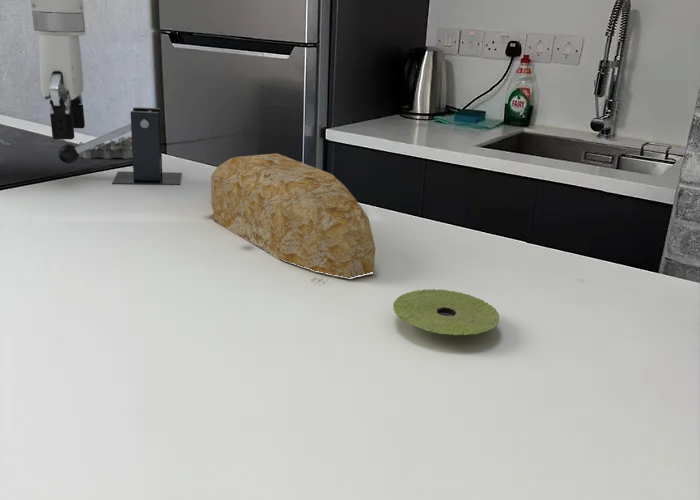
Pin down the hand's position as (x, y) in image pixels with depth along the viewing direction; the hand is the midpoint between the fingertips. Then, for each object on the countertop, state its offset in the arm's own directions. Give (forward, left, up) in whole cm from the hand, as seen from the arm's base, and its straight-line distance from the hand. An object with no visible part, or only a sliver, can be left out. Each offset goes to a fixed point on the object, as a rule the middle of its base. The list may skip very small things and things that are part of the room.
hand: (69, 133), depth 113 cm
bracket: (+12, 0, -9) cm, 15 cm away
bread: (+33, -27, -9) cm, 44 cm away
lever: (+7, 0, -2) cm, 7 cm away
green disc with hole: (+47, -57, -9) cm, 74 cm away
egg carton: (+3, +18, -9) cm, 20 cm away
